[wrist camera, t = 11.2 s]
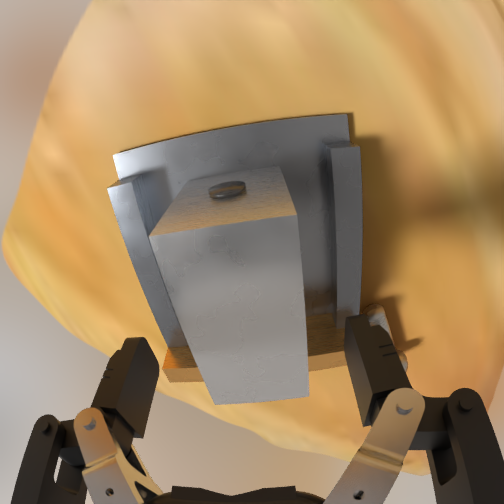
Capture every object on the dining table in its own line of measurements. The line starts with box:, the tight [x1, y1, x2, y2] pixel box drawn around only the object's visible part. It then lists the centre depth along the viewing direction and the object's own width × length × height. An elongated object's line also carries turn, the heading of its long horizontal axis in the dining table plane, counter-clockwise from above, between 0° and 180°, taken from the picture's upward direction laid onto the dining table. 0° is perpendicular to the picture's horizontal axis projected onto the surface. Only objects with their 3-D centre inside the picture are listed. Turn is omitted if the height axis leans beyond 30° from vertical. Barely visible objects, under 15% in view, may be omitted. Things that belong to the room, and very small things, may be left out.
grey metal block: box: [149, 166, 309, 405], centre depth 15 cm, size 10×5×7 cm, turn 9°
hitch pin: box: [363, 304, 408, 372], centre depth 21 cm, size 7×3×3 cm, turn 29°
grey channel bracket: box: [107, 114, 363, 382], centre depth 17 cm, size 14×13×4 cm
